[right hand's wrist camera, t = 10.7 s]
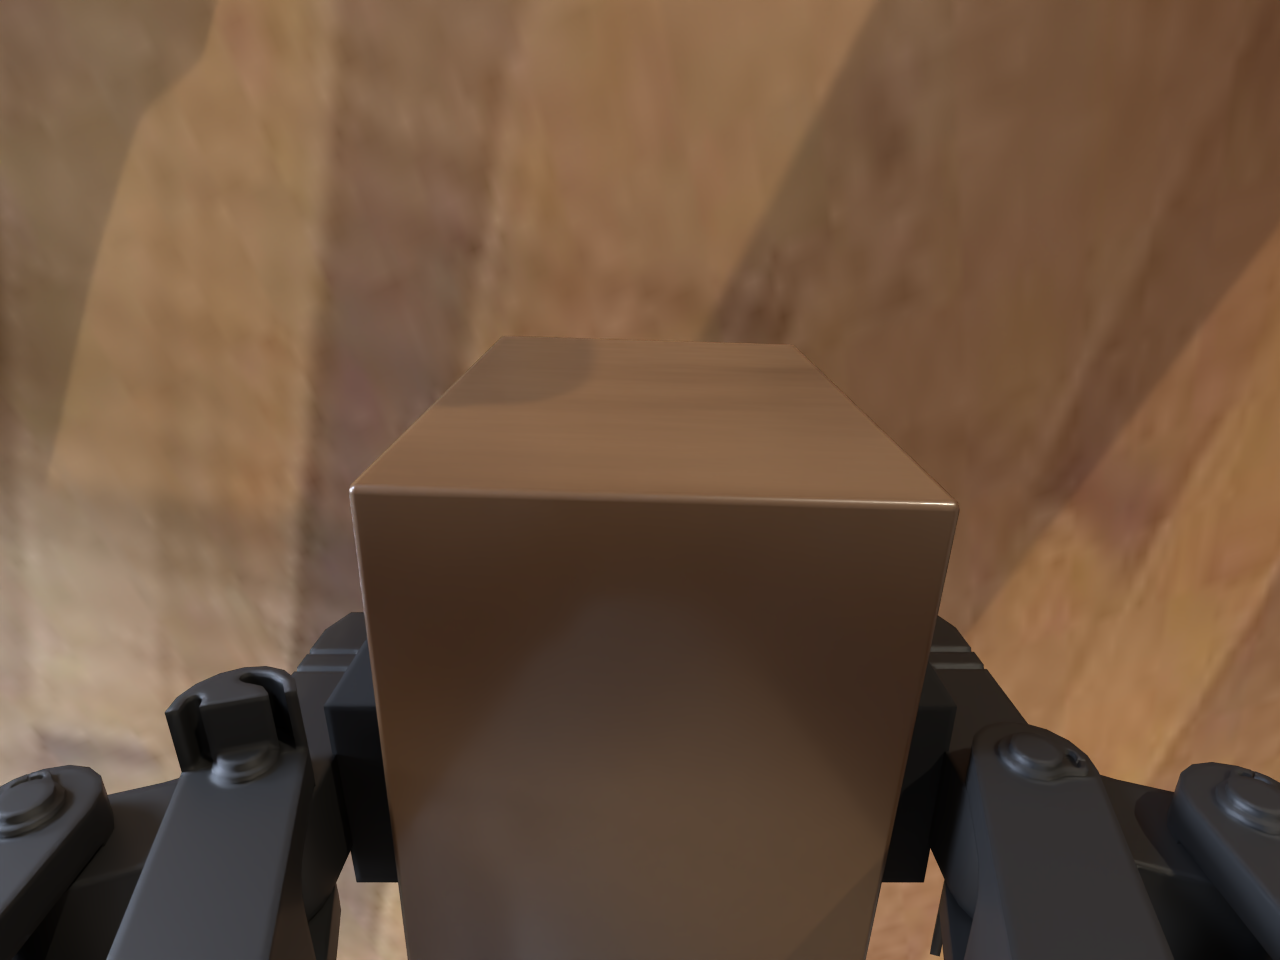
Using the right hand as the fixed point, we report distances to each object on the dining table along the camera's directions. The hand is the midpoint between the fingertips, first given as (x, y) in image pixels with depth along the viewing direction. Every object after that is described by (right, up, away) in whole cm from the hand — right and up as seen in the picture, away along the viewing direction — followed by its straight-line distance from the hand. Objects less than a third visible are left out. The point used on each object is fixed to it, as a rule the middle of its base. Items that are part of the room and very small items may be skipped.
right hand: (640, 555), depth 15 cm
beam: (-1, -20, +8) cm, 22 cm away
